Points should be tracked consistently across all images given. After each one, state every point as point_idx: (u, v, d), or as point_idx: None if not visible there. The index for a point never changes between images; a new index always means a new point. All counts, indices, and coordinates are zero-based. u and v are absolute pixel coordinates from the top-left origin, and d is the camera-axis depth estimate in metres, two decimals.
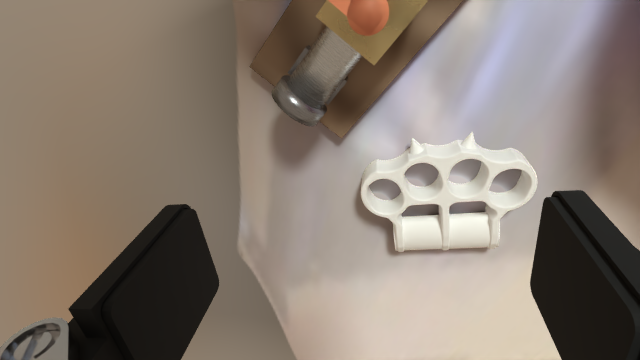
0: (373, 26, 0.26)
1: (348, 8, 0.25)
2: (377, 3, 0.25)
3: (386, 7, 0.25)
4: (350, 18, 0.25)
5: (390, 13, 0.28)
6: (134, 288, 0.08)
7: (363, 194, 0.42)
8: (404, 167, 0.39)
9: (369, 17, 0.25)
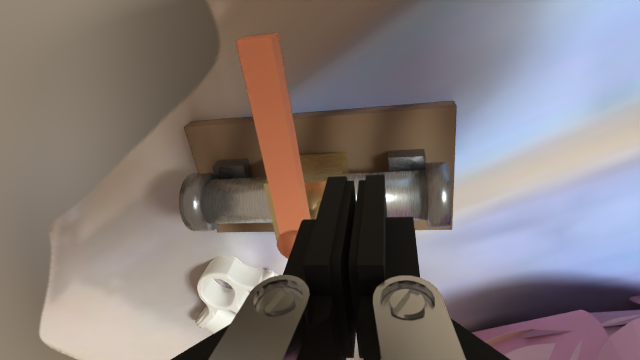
0: None
1: (285, 232, 0.26)
2: None
3: None
4: (281, 237, 0.27)
5: None
6: (344, 250, 0.08)
7: (203, 280, 0.42)
8: (249, 288, 0.42)
9: None
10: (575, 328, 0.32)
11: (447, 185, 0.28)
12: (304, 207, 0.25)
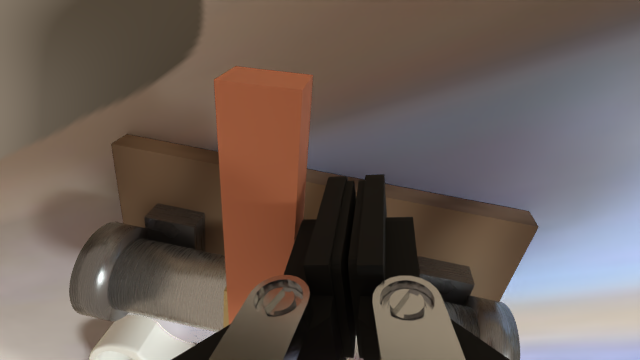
0: None
1: None
2: None
3: None
4: None
5: None
6: (344, 249, 0.08)
7: (100, 350, 0.29)
8: None
9: None
10: None
11: (514, 358, 0.17)
12: None
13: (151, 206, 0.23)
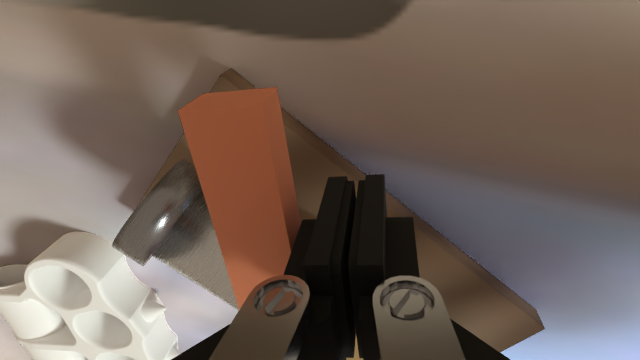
0: None
1: None
2: None
3: None
4: None
5: None
6: (344, 249, 0.08)
7: (52, 263, 0.25)
8: (117, 314, 0.26)
9: None
10: None
11: None
12: None
13: None
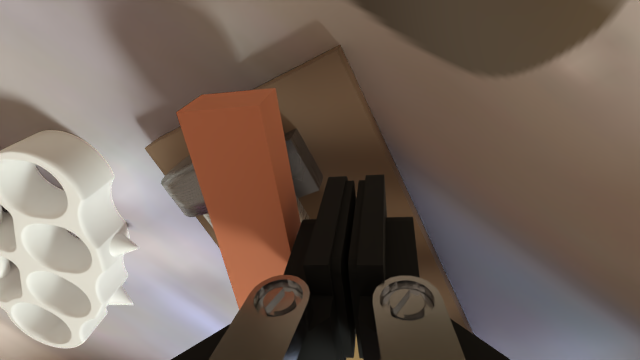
0: None
1: None
2: None
3: None
4: None
5: None
6: (344, 249, 0.08)
7: (35, 161, 0.21)
8: (85, 239, 0.23)
9: None
10: None
11: None
12: None
13: (286, 123, 0.19)
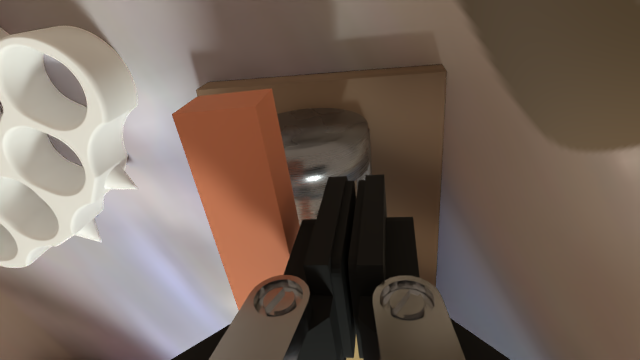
0: None
1: None
2: None
3: None
4: None
5: None
6: (344, 250, 0.08)
7: (66, 62, 0.18)
8: (87, 163, 0.20)
9: None
10: None
11: None
12: None
13: None
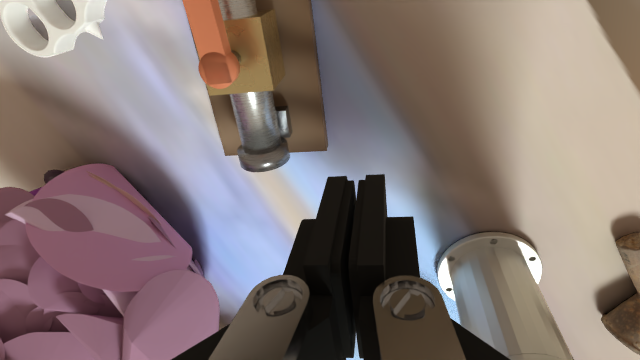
0: (214, 82, 0.29)
1: (204, 55, 0.28)
2: (227, 70, 0.28)
3: (231, 78, 0.29)
4: (202, 62, 0.28)
5: None
6: (344, 249, 0.08)
7: None
8: None
9: (215, 74, 0.29)
10: (178, 249, 0.45)
11: (278, 165, 0.38)
12: (219, 27, 0.27)
13: None
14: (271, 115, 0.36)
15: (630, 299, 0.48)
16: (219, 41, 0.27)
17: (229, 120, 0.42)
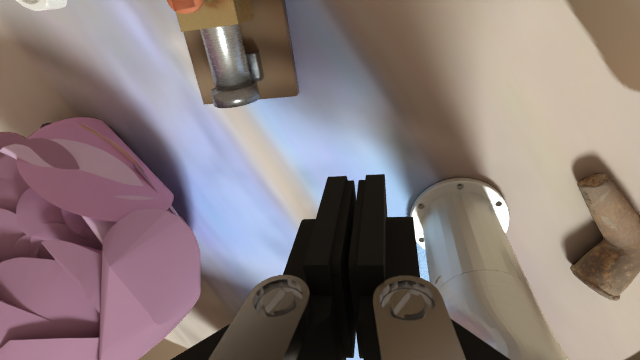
0: (180, 7, 0.32)
1: None
2: None
3: (194, 3, 0.32)
4: None
5: None
6: (344, 249, 0.08)
7: None
8: None
9: None
10: (160, 193, 0.48)
11: (247, 101, 0.40)
12: None
13: None
14: (239, 53, 0.39)
15: (597, 245, 0.49)
16: None
17: (206, 68, 0.45)
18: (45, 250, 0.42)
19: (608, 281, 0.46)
